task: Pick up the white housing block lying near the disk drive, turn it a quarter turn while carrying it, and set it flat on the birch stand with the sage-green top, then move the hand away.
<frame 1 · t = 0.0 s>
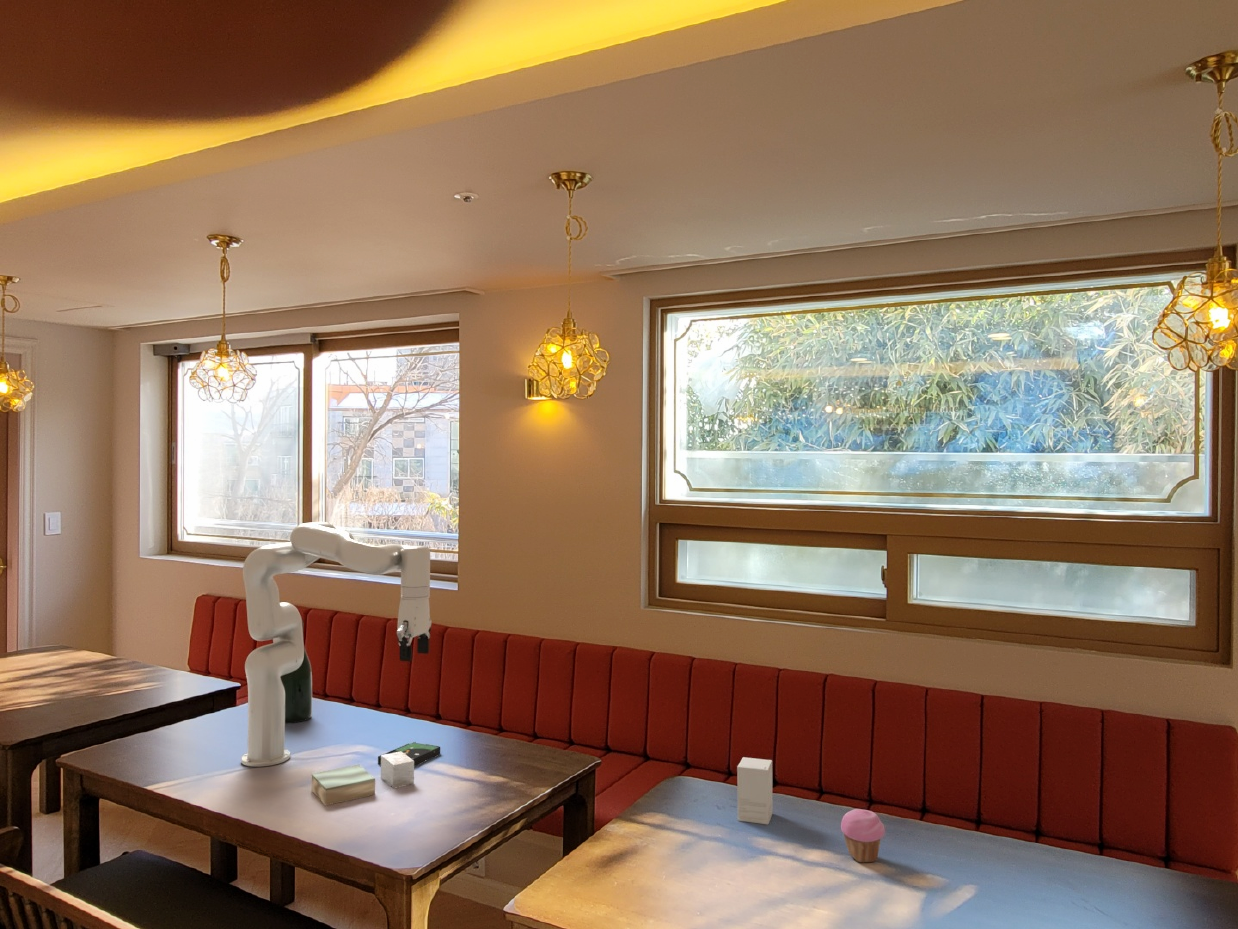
hand: (414, 657, 219), 31 cm above the table, tool pointing down, fingers open, 9 cm apart
supplement box: (755, 818, 193), on the table
stand: (343, 792, 206), on the table
disk drive: (409, 761, 230), on the table
cupcake: (862, 859, 172), on the table
beer bottle: (294, 719, 268), on the table
housing: (397, 781, 214), on the table
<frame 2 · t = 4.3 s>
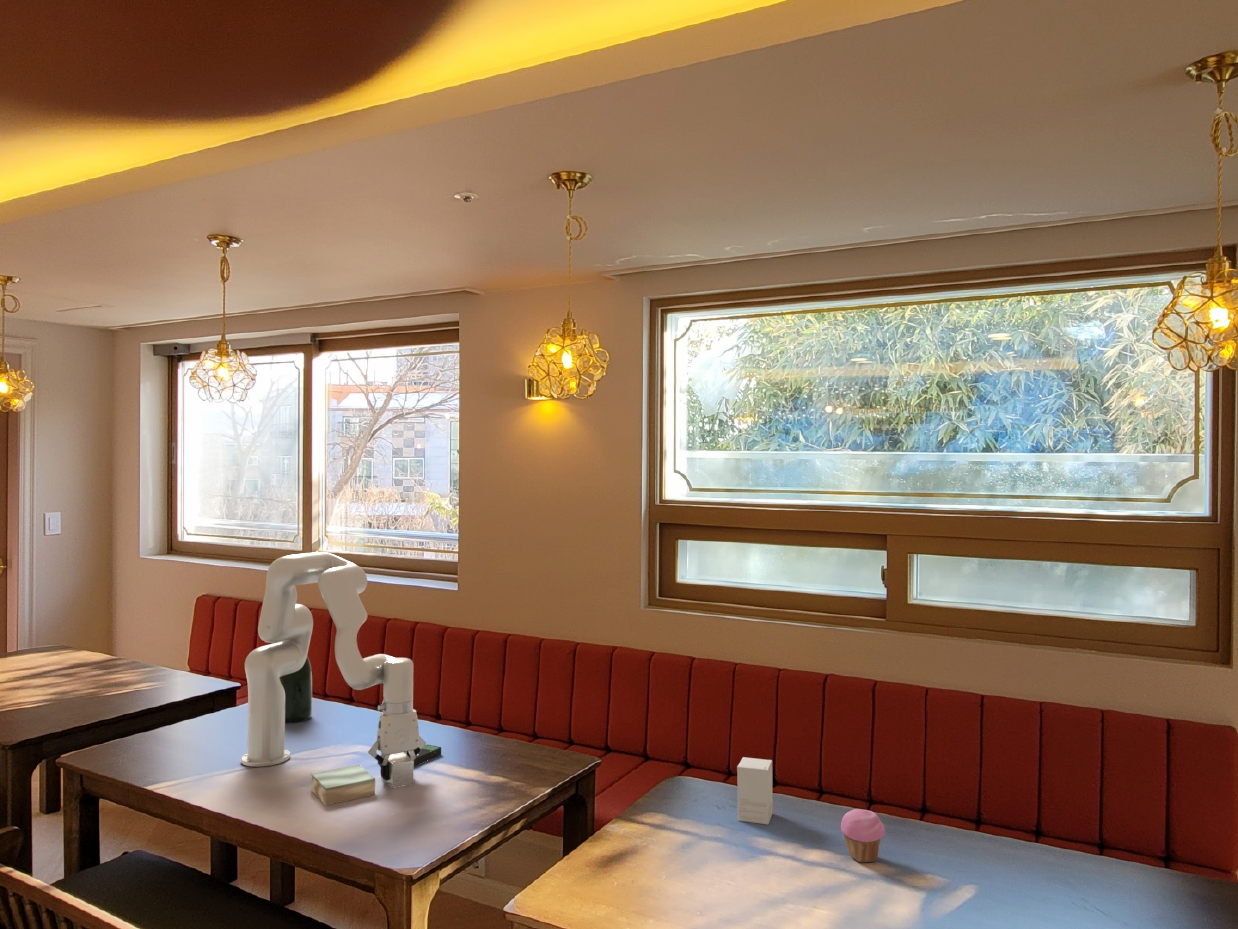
hand: (397, 776, 214), 1 cm above the table, tool pointing down, fingers closed on housing, 5 cm apart
housing: (397, 780, 214), on the table, touching gripper
everything else where it was.
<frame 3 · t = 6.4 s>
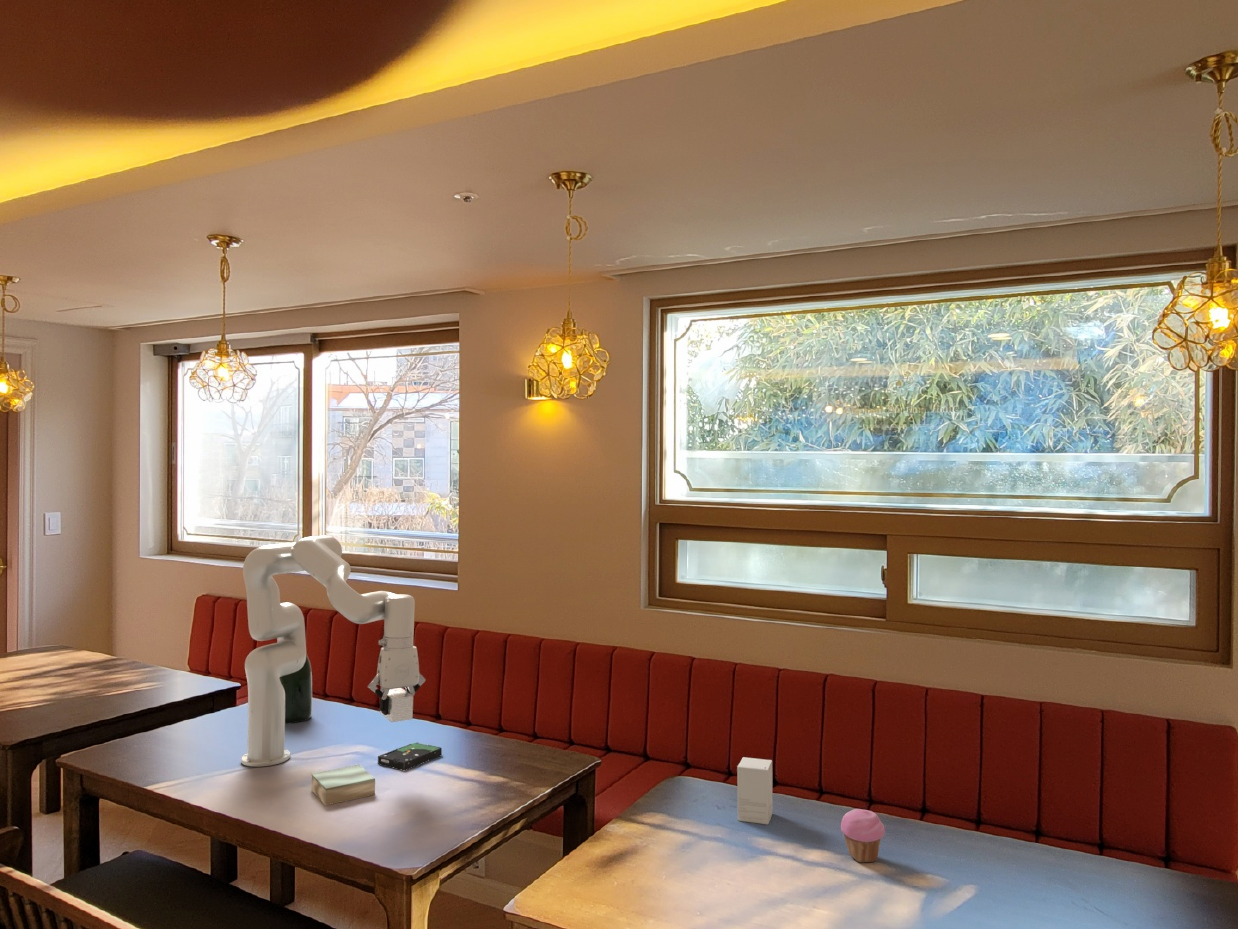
hand: (396, 711, 214), 18 cm above the table, tool pointing down, fingers closed on housing, 5 cm apart
housing: (396, 716, 214), point 17 cm above the table, touching gripper
everything else where it was.
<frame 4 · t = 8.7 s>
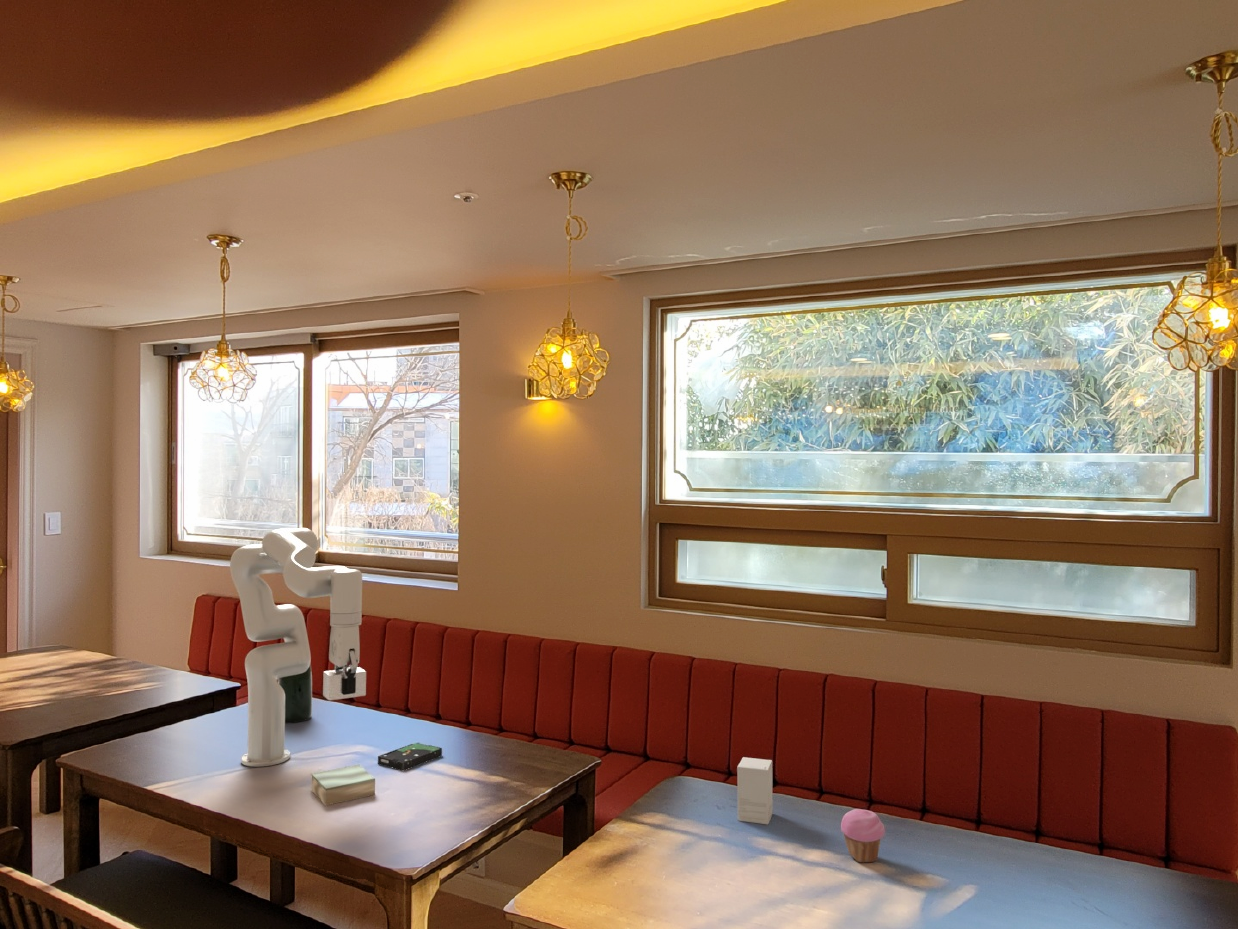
hand: (344, 690, 206), 25 cm above the table, tool pointing down, fingers closed on housing, 5 cm apart
housing: (344, 695, 206), point 24 cm above the table, touching gripper
everything else where it was.
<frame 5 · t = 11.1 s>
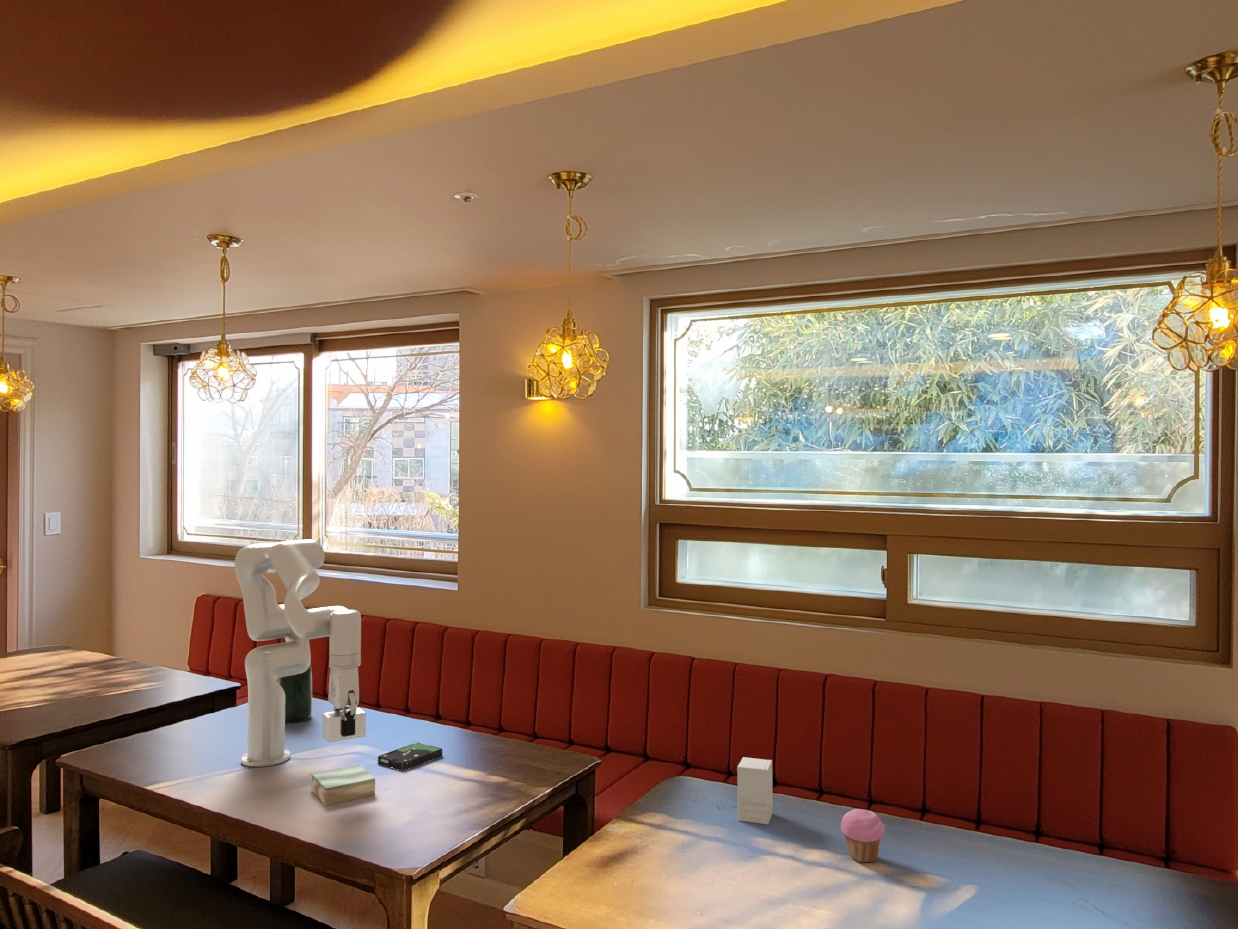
hand: (344, 731, 206), 15 cm above the table, tool pointing down, fingers closed on housing, 5 cm apart
housing: (344, 736, 206), point 14 cm above the table, touching gripper
everything else where it was.
when the fingers open (7 cm above the table, at t = 13.1 s): housing drops 1 cm, resting on stand.
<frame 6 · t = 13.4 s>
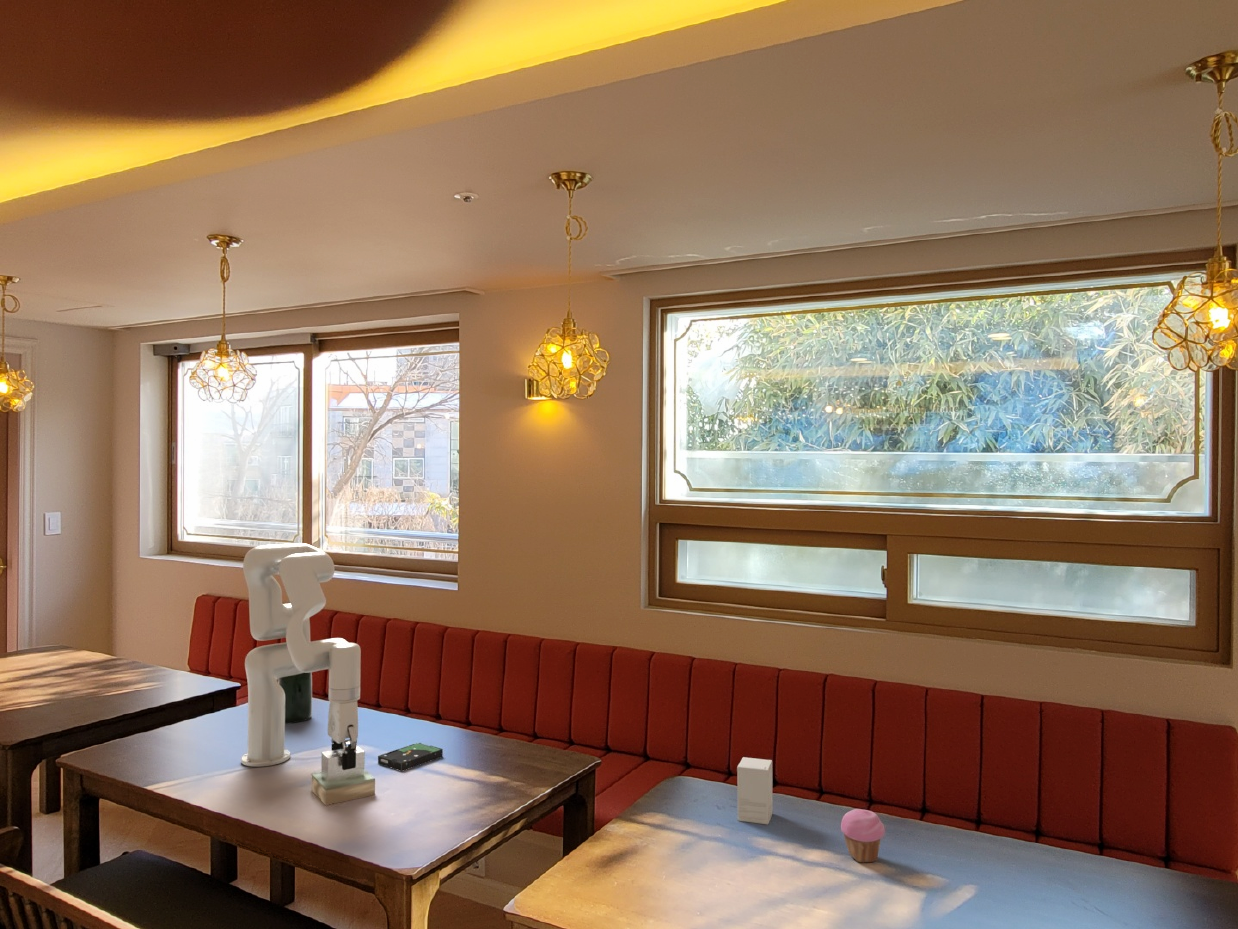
hand: (343, 763, 206), 7 cm above the table, tool pointing down, fingers open, 8 cm apart
housing: (342, 776, 206), point 4 cm above the table, touching stand
everything else where it was.
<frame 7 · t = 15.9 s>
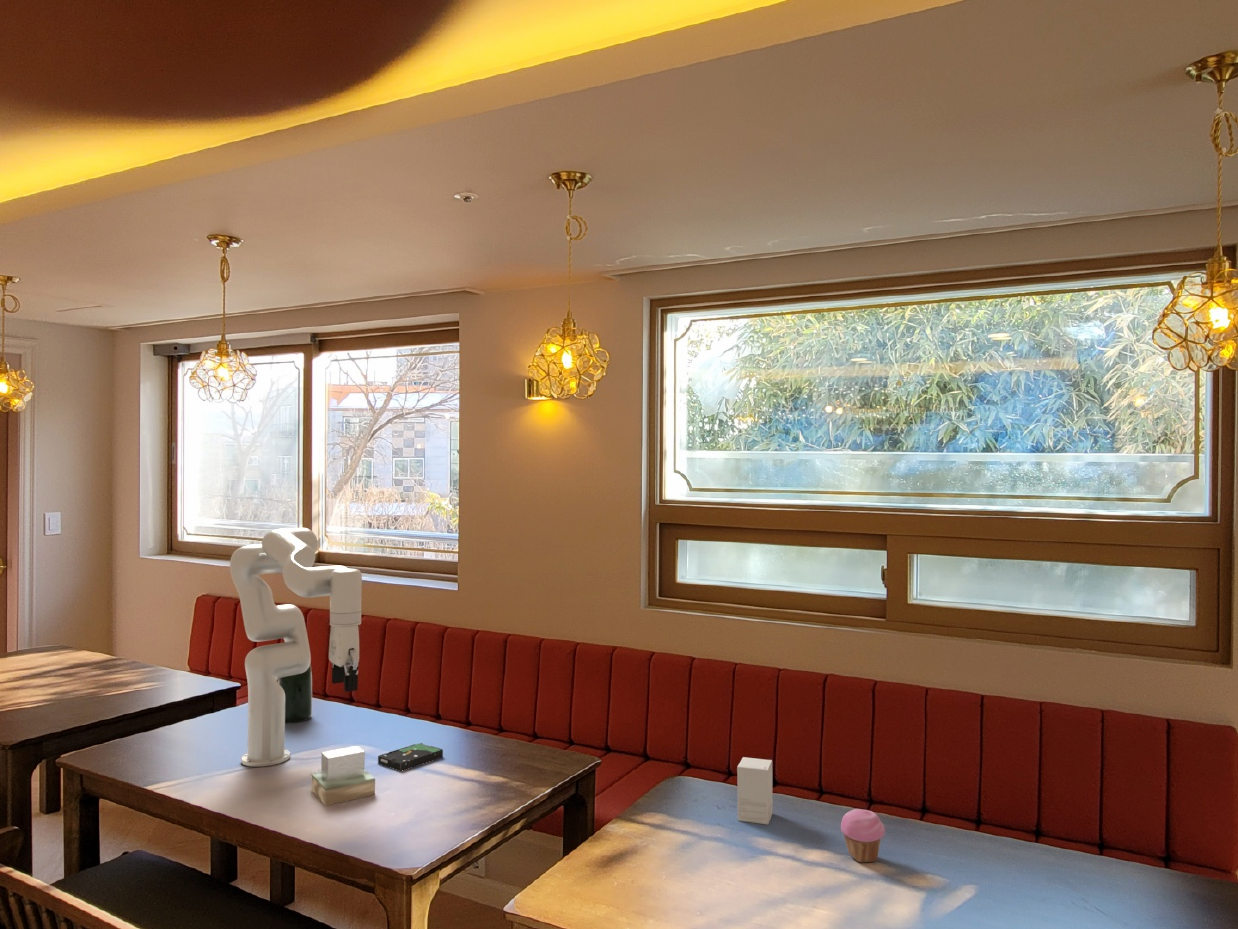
hand: (344, 686, 206), 26 cm above the table, tool pointing down, fingers open, 9 cm apart
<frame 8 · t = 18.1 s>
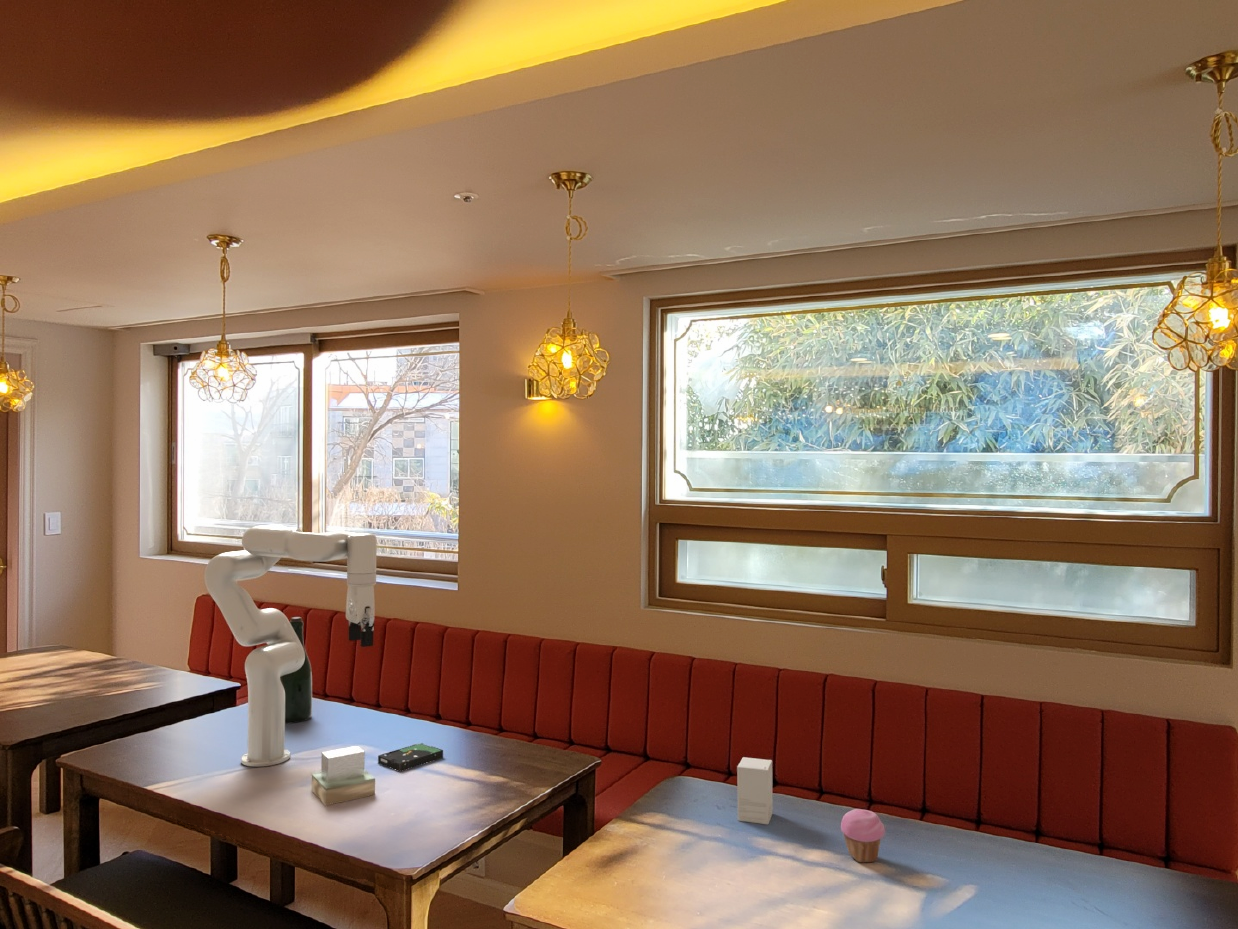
hand: (360, 643, 221), 34 cm above the table, tool pointing down, fingers open, 9 cm apart
at the end: housing inside the target area on the stand (0.1 cm from its centre), point 4.0 cm above the stand's base; housing tilted 0°; the gripper is holding nothing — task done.
